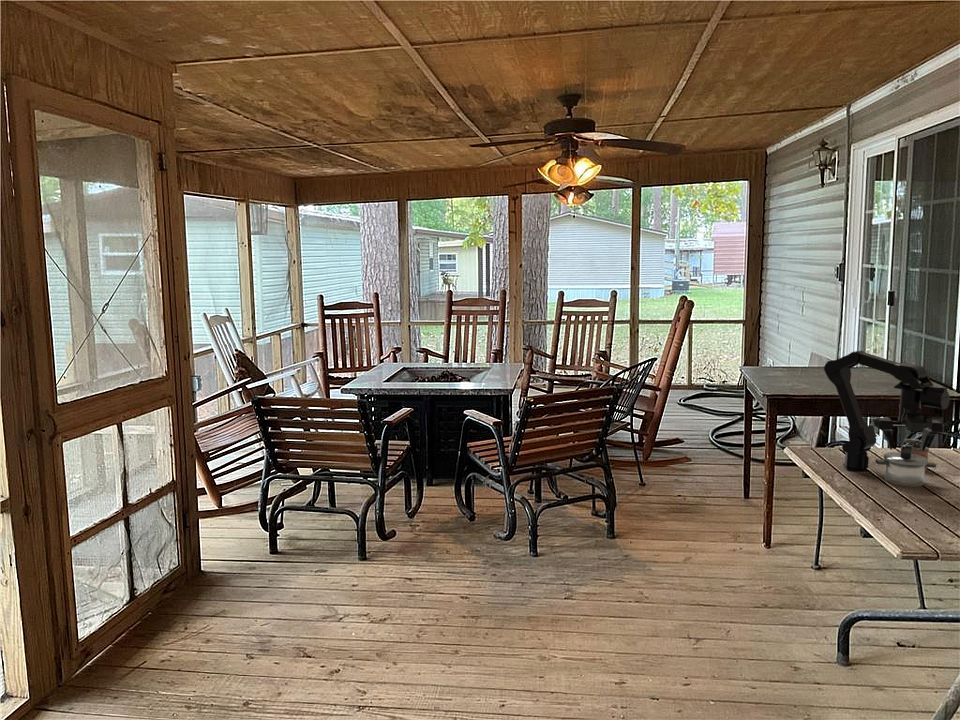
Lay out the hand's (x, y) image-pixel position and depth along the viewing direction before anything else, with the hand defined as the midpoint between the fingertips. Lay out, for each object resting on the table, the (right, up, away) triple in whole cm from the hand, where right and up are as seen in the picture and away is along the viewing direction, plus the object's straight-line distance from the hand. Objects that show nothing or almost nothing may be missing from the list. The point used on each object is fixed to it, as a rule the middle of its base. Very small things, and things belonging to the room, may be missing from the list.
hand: (906, 450), depth 228 cm
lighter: (+12, -8, +16) cm, 22 cm away
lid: (0, -3, 0) cm, 4 cm away
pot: (0, -10, +2) cm, 10 cm away
